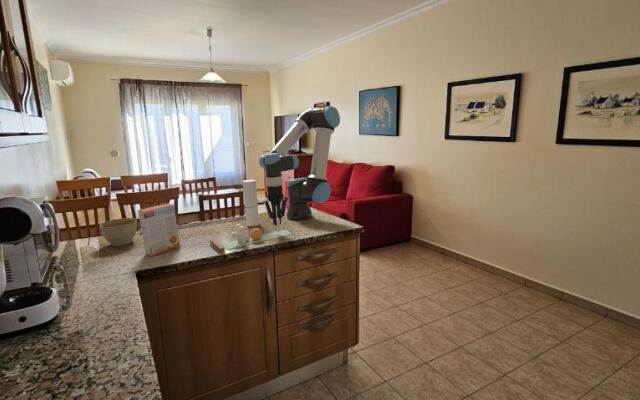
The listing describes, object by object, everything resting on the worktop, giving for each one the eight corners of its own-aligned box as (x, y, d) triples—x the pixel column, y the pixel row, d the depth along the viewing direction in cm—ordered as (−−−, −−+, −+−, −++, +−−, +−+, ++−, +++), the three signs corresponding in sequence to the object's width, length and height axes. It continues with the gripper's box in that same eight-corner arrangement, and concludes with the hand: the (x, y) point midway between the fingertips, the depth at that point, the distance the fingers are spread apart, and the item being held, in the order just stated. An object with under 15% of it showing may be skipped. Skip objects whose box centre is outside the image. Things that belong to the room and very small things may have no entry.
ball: (248, 239, 168) (259, 236, 171) (253, 243, 163) (264, 239, 167) (246, 228, 167) (258, 225, 170) (251, 231, 162) (263, 228, 165)
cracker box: (174, 245, 165) (168, 202, 161) (180, 247, 162) (174, 204, 157) (144, 254, 155) (137, 209, 150) (151, 257, 151) (143, 211, 147)
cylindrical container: (260, 222, 197) (257, 179, 191) (257, 226, 190) (253, 181, 185) (248, 222, 198) (244, 179, 192) (244, 226, 191) (240, 182, 185)
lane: (284, 230, 181) (284, 229, 181) (292, 234, 173) (292, 233, 173) (220, 244, 163) (220, 244, 163) (227, 249, 156) (227, 249, 156)
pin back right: (241, 240, 168) (239, 223, 166) (243, 241, 166) (241, 224, 164) (236, 241, 166) (235, 224, 164) (238, 242, 164) (236, 225, 163)
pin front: (248, 236, 167) (232, 230, 162) (250, 237, 165) (234, 232, 160) (246, 240, 166) (230, 235, 162) (248, 242, 164) (232, 236, 160)
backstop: (214, 243, 165) (214, 238, 164) (225, 252, 152) (224, 247, 151) (210, 244, 164) (209, 239, 163) (220, 254, 151) (220, 248, 150)
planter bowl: (98, 250, 162) (94, 228, 160) (109, 240, 177) (105, 220, 175) (136, 246, 166) (132, 224, 164) (143, 236, 181) (139, 216, 179)
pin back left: (245, 243, 163) (243, 225, 162) (247, 244, 162) (245, 227, 160) (240, 244, 162) (238, 226, 160) (242, 245, 160) (240, 228, 158)
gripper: (282, 182, 175) (285, 226, 180) (259, 185, 168) (263, 231, 173) (289, 184, 169) (292, 230, 174) (265, 187, 162) (269, 235, 167)
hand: (277, 230), depth 174 cm, fingers closed
